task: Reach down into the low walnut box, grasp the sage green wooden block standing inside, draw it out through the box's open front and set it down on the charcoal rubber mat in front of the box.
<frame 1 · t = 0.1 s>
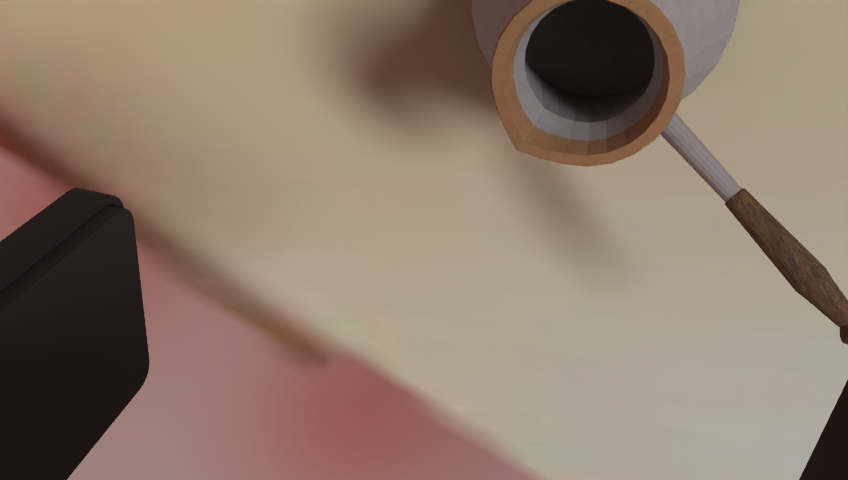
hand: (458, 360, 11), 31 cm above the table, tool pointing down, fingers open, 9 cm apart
coffee pot: (679, 56, 39), on the table
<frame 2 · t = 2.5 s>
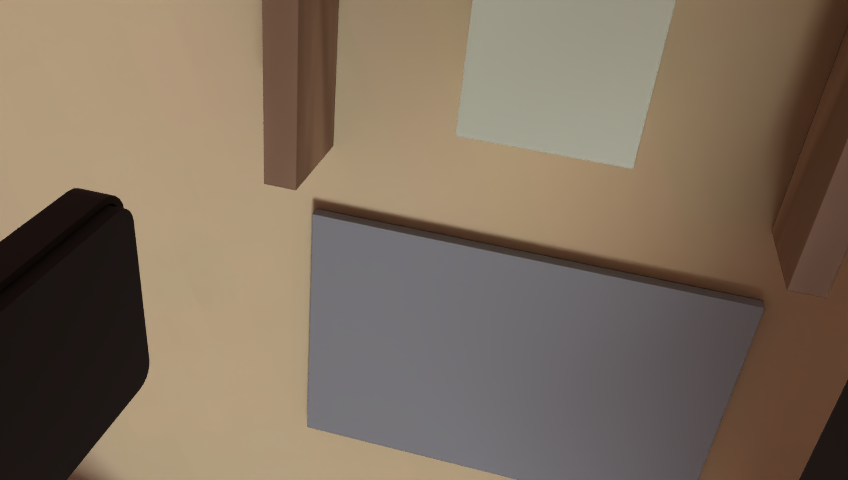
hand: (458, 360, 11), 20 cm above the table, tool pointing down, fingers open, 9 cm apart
mat: (508, 368, 36), on the table
block: (570, 30, 24), in the open box
open box: (578, 2, 27), on the table
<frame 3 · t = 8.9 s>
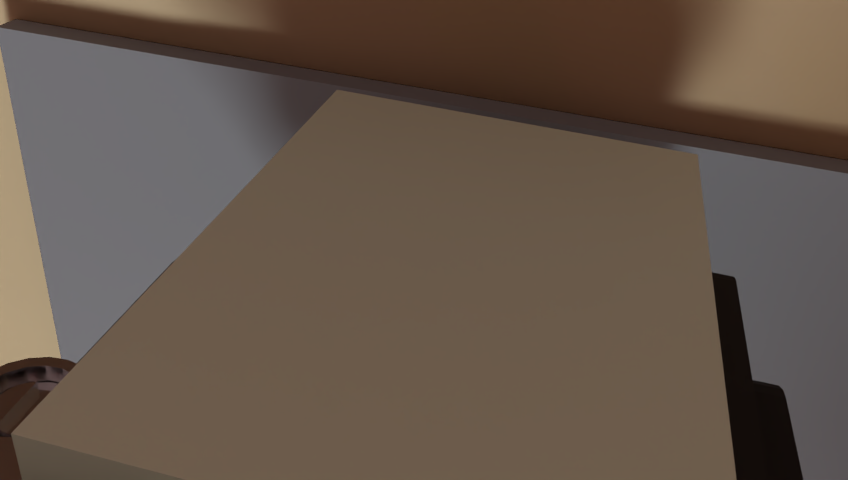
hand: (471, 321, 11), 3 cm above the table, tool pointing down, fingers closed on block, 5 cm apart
mat: (472, 384, 16), on the table
block: (436, 430, 9), point 6 cm above the table, touching gripper
when the fingers open (3 cm above the table, at t = 10.1 s): block drops 2 cm, resting on mat.
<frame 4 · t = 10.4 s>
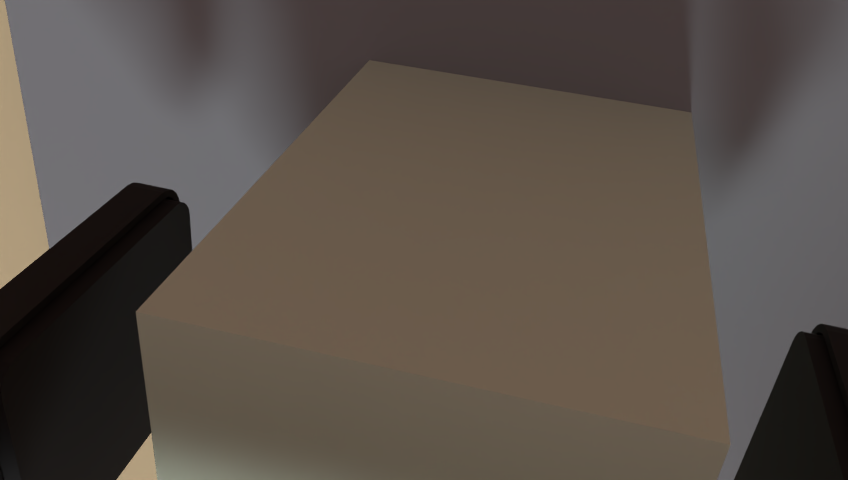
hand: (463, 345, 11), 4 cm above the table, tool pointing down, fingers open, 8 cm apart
mat: (506, 208, 14), on the table
block: (464, 350, 11), on the mat
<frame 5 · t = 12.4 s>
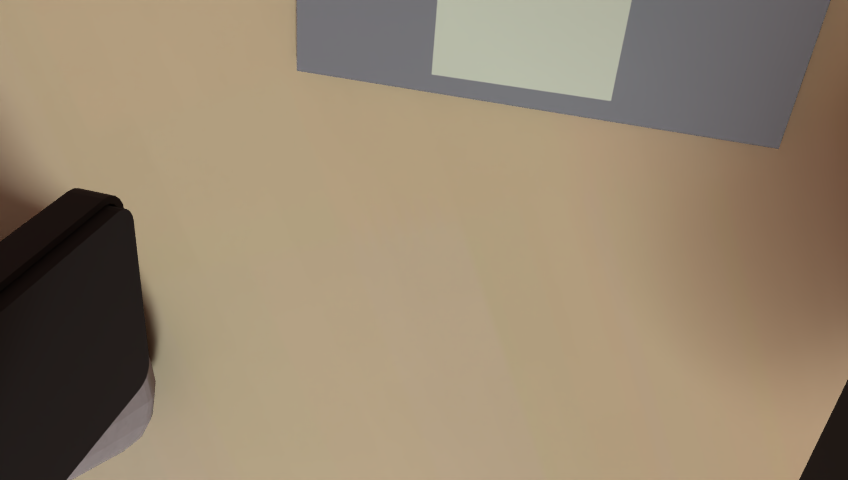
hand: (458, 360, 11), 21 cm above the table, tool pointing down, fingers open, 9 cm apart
coffee pot: (47, 382, 45), on the table
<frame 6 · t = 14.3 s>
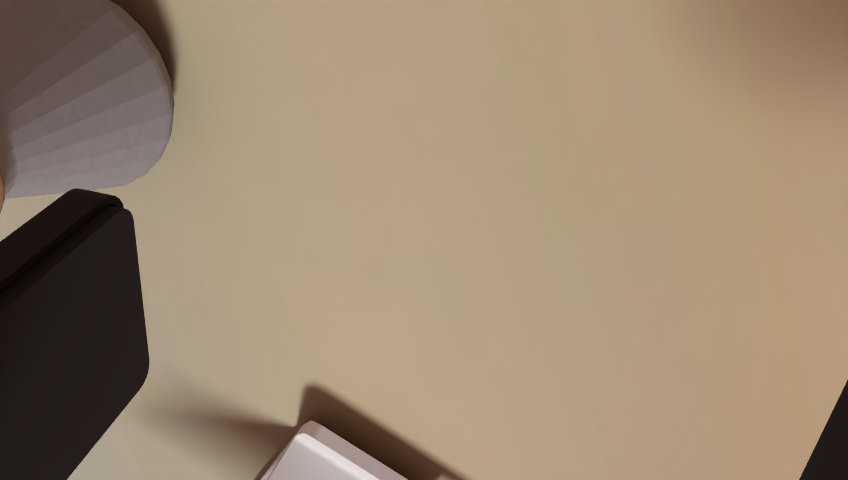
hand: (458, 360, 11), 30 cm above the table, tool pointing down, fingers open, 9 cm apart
coffee pot: (71, 131, 48), on the table
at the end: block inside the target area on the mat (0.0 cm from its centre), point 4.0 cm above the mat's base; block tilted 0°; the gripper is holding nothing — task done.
